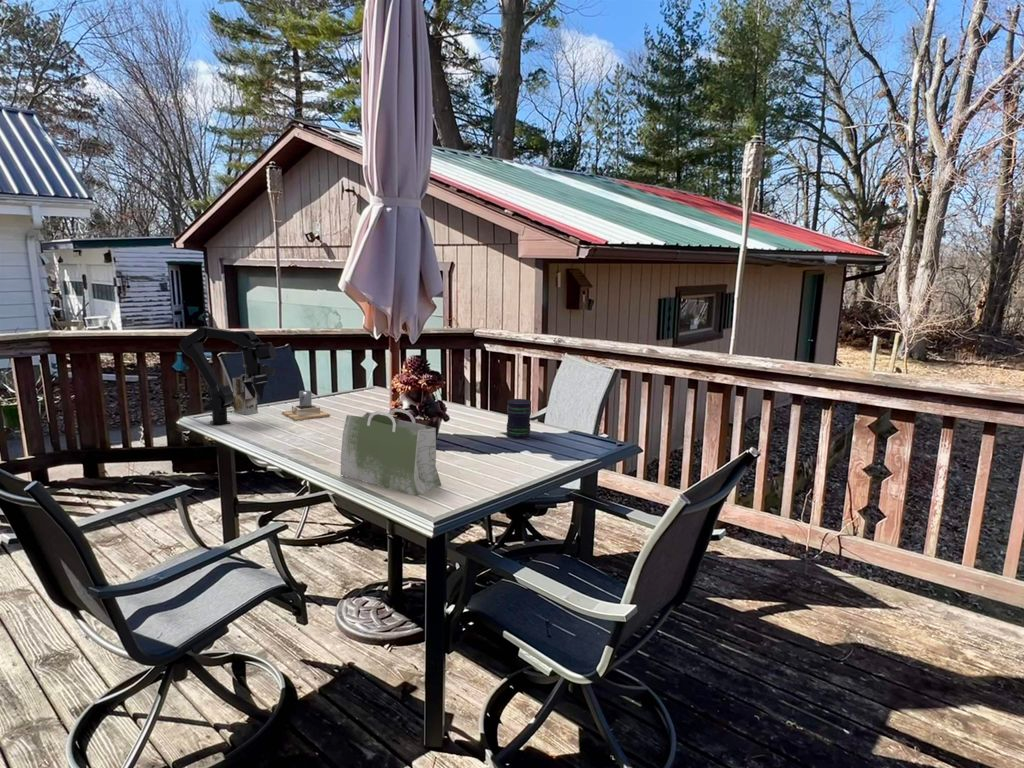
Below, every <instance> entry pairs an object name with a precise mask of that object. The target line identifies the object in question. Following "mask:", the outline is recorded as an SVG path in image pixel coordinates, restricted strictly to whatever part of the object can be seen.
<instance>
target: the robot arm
mask: <svg viewBox="0 0 1024 768" xmlns="http://www.w3.org/2000/svg"><path fill="white" fill-rule="evenodd" d="M208 338H212V339H220V340H225V341H231V342H233V344H238V345H239V346H238V348H237V349H236V352H239V353H240V352H241V353H242V354H241V355H242V360H243V364H242V367H243V368H244V371H245V373H243V374H241V375H240V376H239V377H240V381H242V383H243V385H244V386H245V387H246V389H247V390H248V392H249V393H250V394H251V396H252V397H253V398H255V397H256V393H257V398H258V399H259V400H262V399H263V398H264V389H265V386H266V385H267V384H268V383H269V381H270V376H274V374H275V369H276V368H274V367H269V365H268V364H263V365H262V363H261V362H260V361H264V360H265V361H266V360H275V359H276V357H277V349H276V347H275V346H274V345H273V343H272V342H266V343H264V342H262V340H260V338H259V337H258V336H257V334H256V332H255V331H254V330H251V329H250V330H230V329H224V328H217V327H210V326H209V325H206V326H199V328H197V329H196V330H194V331H193V332H191V333H190V334H187V336H184V337H182V338H180V340H179V343H178V344H179V347H180V349H181V350H182V351H183V353H184V354H185V355H186V356H188V357H189V358H190V359H192V361H193V362H194V364H195V365H196V368H197V369H198V371H199V372H200V374H201V376H202V378H203V379H204V381H205V382H206V384H207V386H208V388H209V393H210V398H211V401H209V403H208V404H207V405H206V408H207V410H208V411H209V412H211V417H212V420H210V421H209V422H210V424H211V425H213V426H219V425H229V424H231V422H230V421H229V420H228V408H231V405H232V403H234V395H233V394H234V393H233V390H232V388H231V387H230V385H224V384H223V383H222V382H221V380H220V379H219V377H218V375H217V374H216V372H215V370H214V368H213V366H212V365H211V363H210V362H209V360H208V358H207V357H206V355H205V347H204V344H203V343H205V342H206V341H207V339H208ZM259 360H260V361H259ZM243 381H244V382H243Z"/></svg>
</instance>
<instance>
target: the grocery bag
mask: <svg viewBox="0 0 1024 768" xmlns="http://www.w3.org/2000/svg"><path fill="white" fill-rule="evenodd" d="M396 412H397V413H402V414H406V415H407V416H408V417H409V418H410V420H411V421H406V420H401V419H397V418H394V417H393V415H392V414H393V413H396ZM341 440H342V441H341V452H340V476H341V475H343V476H347V477H346V478H348V477H351V478H350V479H353V478H356V479H355V480H358V479H360V480H359V481H361V480H364V481H363V482H365V481H367V482H366V483H368V482H370V483H369V484H371V483H374V484H377V485H376V486H378V485H380V486H379V487H381V486H383V487H382V488H384V487H385V488H384V489H387V488H388V490H390V489H391V491H395V492H398V491H399V493H404V494H409V495H412V496H420V495H422V494H424V493H426V492H428V491H431V490H433V489H435V488H438V487H439V486H440V487H441V486H442V483H441V479H440V476H439V473H438V470H437V466H436V463H437V427H435V426H433V427H432V426H429V425H424V424H421V423H417V422H416V419H415V418H414V416H413V414H412V413H411V412H409V411H408V410H406V409H400V408H393V409H391V410H390V411H389V412H385V411H381V410H376V411H373V412H365V414H363V415H362V416H360V415H358V416H357V415H350V414H346V418H345V423H344V427H343V432H342V438H341ZM343 476H342V477H343ZM374 484H373V485H374Z"/></svg>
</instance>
